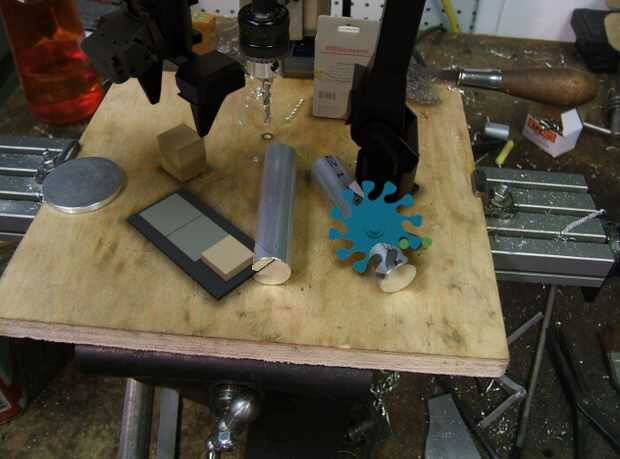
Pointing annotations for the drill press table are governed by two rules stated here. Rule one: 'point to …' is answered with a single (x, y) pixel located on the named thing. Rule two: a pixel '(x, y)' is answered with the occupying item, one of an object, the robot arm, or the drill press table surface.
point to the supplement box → (205, 31)
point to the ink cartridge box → (339, 60)
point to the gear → (376, 224)
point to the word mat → (198, 241)
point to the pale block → (182, 152)
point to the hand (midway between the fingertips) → (178, 119)
